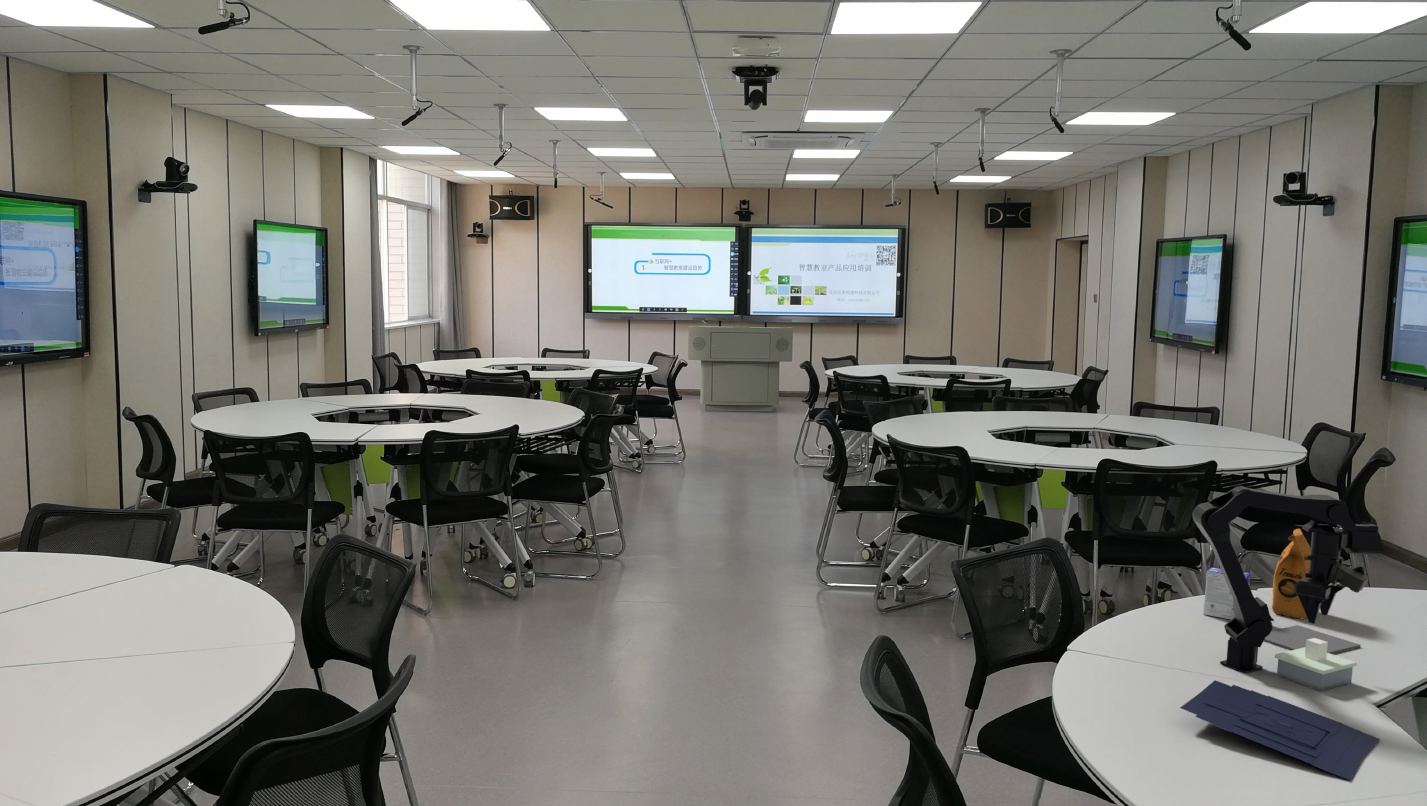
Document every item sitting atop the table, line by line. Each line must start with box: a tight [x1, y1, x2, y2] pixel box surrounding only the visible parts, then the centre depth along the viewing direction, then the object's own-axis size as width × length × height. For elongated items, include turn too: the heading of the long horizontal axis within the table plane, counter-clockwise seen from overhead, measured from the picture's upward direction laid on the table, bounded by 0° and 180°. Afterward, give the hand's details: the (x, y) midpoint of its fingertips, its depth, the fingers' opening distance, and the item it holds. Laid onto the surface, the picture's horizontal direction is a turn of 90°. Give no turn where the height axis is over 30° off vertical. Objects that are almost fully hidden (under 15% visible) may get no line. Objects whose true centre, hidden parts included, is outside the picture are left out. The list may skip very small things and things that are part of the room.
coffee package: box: [1271, 528, 1311, 620], centre depth 273 cm, size 10×12×22 cm
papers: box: [1179, 679, 1380, 781], centre depth 197 cm, size 24×30×4 cm
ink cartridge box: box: [1203, 567, 1251, 620], centre depth 269 cm, size 10×6×14 cm, turn 53°
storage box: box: [1276, 659, 1354, 692], centre depth 226 cm, size 11×10×4 cm
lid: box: [1274, 638, 1358, 674], centre depth 226 cm, size 12×11×6 cm
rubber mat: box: [1263, 624, 1362, 655], centre depth 251 cm, size 18×16×1 cm
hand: (1318, 619), depth 230 cm, fingers open, 9 cm apart
